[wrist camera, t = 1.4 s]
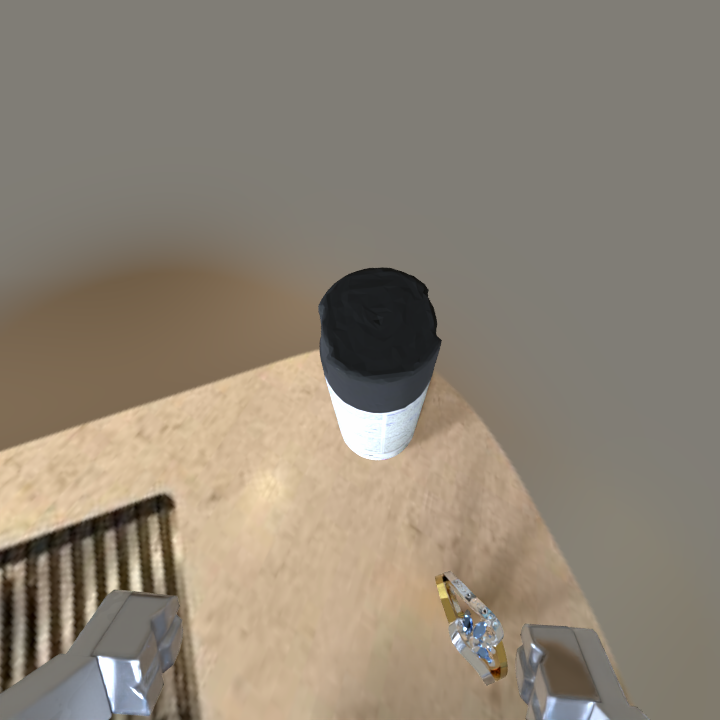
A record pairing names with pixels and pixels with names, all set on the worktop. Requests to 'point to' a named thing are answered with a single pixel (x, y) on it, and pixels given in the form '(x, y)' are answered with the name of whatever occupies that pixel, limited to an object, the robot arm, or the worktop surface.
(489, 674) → the ring
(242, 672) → the worktop surface
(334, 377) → the spray can
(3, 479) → the worktop surface
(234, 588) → the worktop surface
